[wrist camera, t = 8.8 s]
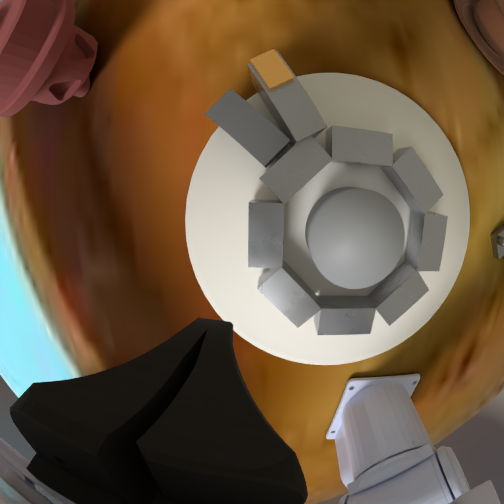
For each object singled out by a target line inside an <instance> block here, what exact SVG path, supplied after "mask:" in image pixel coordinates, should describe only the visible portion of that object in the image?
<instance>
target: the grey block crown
mask: <svg viewBox="0 0 504 504" xmlns="http://www.w3.org/2000/svg"><path fill="white" fill-rule="evenodd" d="M247 66H248V70H249V74H250V78H251V81H252V85H253V87H254V88H255V90H256V91H257V93H258V94H259V96H260V98H261V99H262V101H263V102H264V104H265V105H266V107H267V109H268V110H269V112H270V113H271V115H272V117H273V118H274V120H275V121H276V123H277V125H278V126H279V128H280V130H281V131H282V133H283V134H285V135H286V136H287V137H288V138H289V139H290V142H289V145H290V147H291V149H290V150H289V151H288V152H287V153H286V154H284V155H283V156H282V157H281V158H280V159H279V160H278V161H277V162H276V163H275V164H274V165H273V166H272V167H271V168H269V169H268V170H267V171H266V172H265V173H264V174H263V175H262V176H261V177H260V178H259V179H260V180H261V181H262V182H263V183H264V184H265V185H266V186H267V187H268V188H269V189H270V190H271V191H272V192H273V193H274V194H275V195H276V196H277V197H278V198H279V200H252V199H251V200H250V201H249V213H248V267H256V268H269V269H267V270H266V271H265V272H264V273H263V274H262V275H261V276H260V277H259V280H258V286H257V289H258V290H259V291H260V292H261V293H262V294H263V295H264V296H265V297H266V298H267V299H268V300H269V301H270V302H271V303H272V304H273V305H274V306H275V307H276V308H278V309H279V310H280V311H281V312H282V313H283V314H284V315H285V316H286V317H287V318H288V319H289V320H290V321H291V322H292V323H293V324H294V325H295V326H296V327H297V328H298V327H300V326H301V325H302V324H304V323H305V322H306V321H308V320H309V319H310V318H311V317H313V316H314V323H315V328H316V332H317V335H357V334H370V333H371V329H372V325H373V321H374V316H375V312H376V310H377V311H378V313H379V314H380V315H381V316H382V318H383V319H384V320H385V321H386V323H387V324H388V325H389V326H390V325H391V324H392V323H394V322H395V321H396V320H397V319H398V318H399V317H401V316H402V315H403V314H404V313H405V312H406V311H407V310H408V309H410V308H411V307H412V306H413V305H414V304H415V303H416V302H417V301H418V300H419V299H420V298H421V297H422V296H424V295H425V294H426V293H427V292H428V291H429V289H428V287H427V285H426V284H425V282H424V280H423V279H422V277H421V275H420V274H419V272H418V271H439V270H440V265H441V260H442V254H443V248H444V242H445V235H446V227H447V219H448V216H446V215H443V214H439V213H436V212H431V211H429V210H430V209H431V208H432V207H433V206H434V204H435V203H436V202H437V201H438V200H439V199H440V198H441V197H442V196H443V193H442V191H441V190H440V188H439V186H438V185H437V183H436V182H435V180H434V178H433V177H432V175H431V174H430V172H429V171H428V169H427V168H426V166H425V165H424V163H423V162H422V160H421V159H420V157H419V156H418V155H417V153H416V152H415V150H414V149H413V148H412V146H411V147H405V148H400V149H397V150H396V151H395V152H394V153H393V134H390V133H385V132H379V131H372V130H366V129H358V128H350V127H342V126H331V127H330V128H328V129H327V130H326V131H325V133H326V144H325V150H324V149H323V148H322V147H321V146H320V145H319V144H318V143H317V142H316V140H315V139H314V138H315V137H317V136H318V135H319V134H320V133H321V132H322V131H323V130H324V129H326V128H327V125H326V123H325V122H324V120H323V118H322V116H321V115H320V113H319V111H318V110H317V108H316V107H315V105H314V103H313V102H312V100H311V99H310V97H309V95H308V94H307V92H306V91H305V89H304V88H303V86H302V85H301V83H300V82H299V80H298V79H297V77H296V76H295V74H294V73H293V72H292V70H291V69H290V67H289V66H288V64H287V63H286V62H285V60H284V59H283V58H282V56H281V55H280V54H279V52H278V51H275V50H274V49H272V50H270V51H268V52H265V53H263V54H261V55H259V56H256V57H254V58H252V59H250V63H249V64H247ZM329 162H337V163H348V164H358V165H367V166H375V167H380V168H381V169H382V170H383V172H384V173H385V174H386V176H387V177H388V178H389V179H390V181H391V182H392V183H393V185H394V186H395V188H396V189H397V190H398V192H399V193H400V195H401V196H402V197H403V199H404V200H405V202H406V203H407V205H408V206H409V208H410V209H411V215H410V225H409V234H408V241H407V249H406V255H405V262H404V263H403V264H401V265H400V266H399V267H398V268H397V269H396V270H395V271H394V272H393V273H392V274H391V275H390V276H389V277H388V278H386V279H385V280H384V281H383V282H382V283H381V284H380V285H379V286H378V287H376V288H375V289H374V290H373V291H372V292H371V293H370V294H368V295H367V296H317V295H316V294H315V293H314V292H313V291H312V290H311V288H310V287H309V286H308V285H307V284H306V283H305V282H304V281H303V280H302V279H301V278H300V277H299V276H298V275H297V274H296V273H295V272H294V271H293V270H292V269H291V268H290V267H289V265H288V264H287V263H286V262H285V261H284V260H283V235H284V206H285V203H286V202H287V201H288V200H289V199H290V198H291V197H293V196H294V195H295V194H296V193H297V192H298V191H299V190H300V189H301V188H302V187H303V186H304V185H305V184H307V183H308V182H309V181H310V180H311V179H312V178H313V177H314V176H315V175H316V174H317V173H318V172H320V171H321V170H322V169H323V168H324V167H325V166H326V165H327V164H328V163H329Z"/></svg>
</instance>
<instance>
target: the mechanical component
mask: <svg viewBox="0 0 504 504" xmlns="http://www.w3.org/2000/svg"><path fill="white" fill-rule="evenodd" d="M75 16H76V7H75V3H74V2H73V1H72V0H3V1H2V2H1V3H0V117H9V116H12V115H14V114H15V113H17V112H18V111H20V110H21V109H22V108H23V107H24V106H25V105H26V104H27V103H28V102H29V101H30V100H33V101H37V102H40V103H44V104H49V105H57V104H60V103H62V102H64V101H66V100H67V99H69V98H70V97H71V96H72V95H74V96H77V97H83V96H85V95H86V94H87V92H88V91H89V88H90V79H89V74H90V72H91V70H92V67H93V65H94V62H95V59H96V55H97V47H98V42H97V41H96V40H95V38H94V37H93V36H92V35H90V34H88V33H86V32H85V31H83V30H82V29H80V28H79V27H77V26H75V25H74V21H75Z"/></svg>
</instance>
